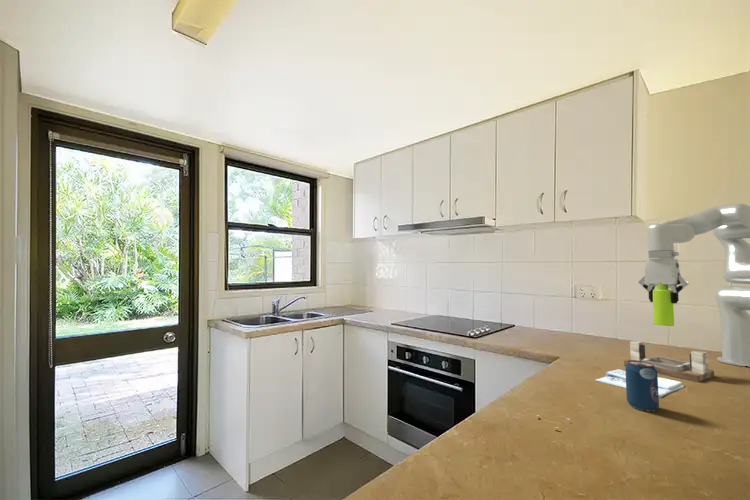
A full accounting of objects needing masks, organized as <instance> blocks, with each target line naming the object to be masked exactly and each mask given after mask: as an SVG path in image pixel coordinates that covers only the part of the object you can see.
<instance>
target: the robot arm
mask: <svg viewBox="0 0 750 500" xmlns="http://www.w3.org/2000/svg"><path fill="white" fill-rule="evenodd" d="M646 230H647V231H646V232H647V248H648V249H647V250H648V251H647V252H648V253H647V254H648V259H646V260H645V261H646V262H645V267H644V276H643V277H642V278H640V279H639V280H638V283H639V285H640V286H642V287H643V288H644V289H645V290H646V292H648V300H649V302H650V303H653V290H655V289H656V287H657V284H659V282H661V283H662V284H664V285H668V287H669V288H670V290H672V293H671V303H673V304H678V302H679V300H680V299H679V293H680V292H681V291H682V290H683V289H685V288H686V287H687V286H689V285H690V282H689V281H688V280H686V279H685V278H683V276H682V272H681V267H680V263H679V260H678V259H677V258H676V257H677V256H679V255H680V253H679V251H675V247H674V246H675V245H674V244H683V243H684V244H685V243H689V242H690V241H692V240H693V239H694V238H695V237H696V236H697V235H698V236H699V235H704V234H706V233H709V232H711V231H712V233H713V235H714V237H715V238H716V239H717V240H718V241H719V243H720V244H721V245H722V247H723V249H724V261H723V271H722V273H723V279H724V280H725V281H726V282H727V283H731V284H737V285H738V284H739V285H740V284H742V285H750V243H749V242H748V241H746V240H745V239H750V205H748V204H746V203H740V202H739V203H731V204H725V205H718V206H713V207H708V208H706V209H704V210H701V211H699V212H696V213H694V214H691V215H687V216H683V217H680V218H677V219H674V220H673V219H672V220H670V221H666V222H663V223H656V224H655V223H654V224H650V225H649V226H648V227H647V229H646ZM737 285H734V286H733V285H728V286H722V287H720V288H718V289H716V291H715V297H714V298H715V301H716V304H717V308H718V312H719V319H720V335H721V354H722V356H717V359H716V360H717V361H719V363H724V364H728V365H731V366H732V365H733V366H739V367H745V366H748V367H747V368H750V314H749V312H747V311H750V286H739V285H738V286H737Z"/></svg>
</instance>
